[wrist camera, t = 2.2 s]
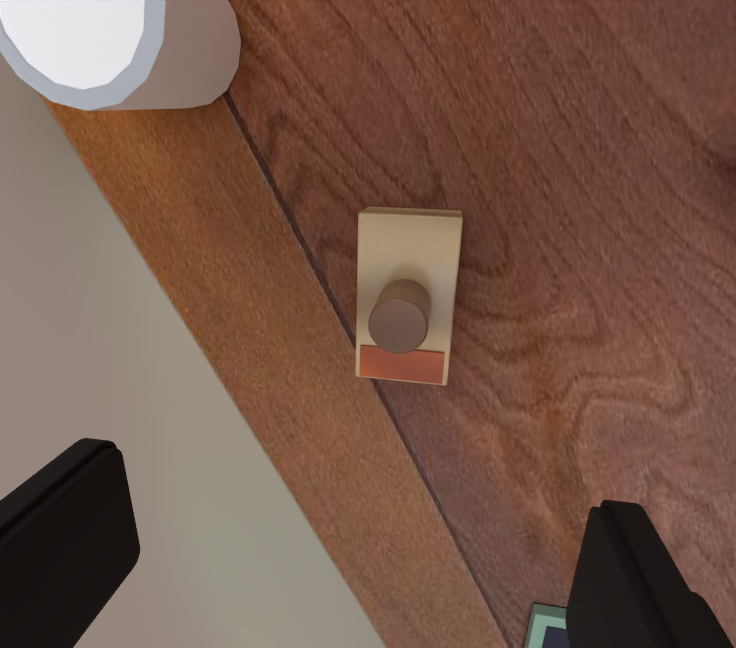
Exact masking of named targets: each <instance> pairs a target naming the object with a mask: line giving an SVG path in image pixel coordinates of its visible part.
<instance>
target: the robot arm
mask: <svg viewBox="0 0 736 648" xmlns="http://www.w3.org/2000/svg"><path fill="white" fill-rule="evenodd" d="M139 554H140V544H139V539H138V533H137V528H136V523H135V518H134V512H133V507H132V503H131V497H130V492H129V486H128V481H127V476H126V471H125V466H124V461H123V455H122V453H121V451H120V450H118V449H117V447H116V445H115V444H114V443H113V442H111V441H107V440H98V439H90V438H84V439H81V440H79V441H77V442H76V443H74V444H73V445H72V446H70V447H69V448H68V449H67V450H65V451H64V452H63V453H61V454H60V455H59V456H58V457H56V458H55V459H54V460H52V461H51V462H50V463H49V464H47V465H46V466H45V467H43V468H42V469H41V470H39V471H38V472H37V473H36V474H34V475H33V476H32V477H30V478H29V479H28V480H27V481H25V482H24V483H23V484H21V485H20V486H19V487H17V488H16V489H15V490H14V491H12V492H11V493H10V494H8V495H7V496H6V497H4V498H3V499H2V500H1V501H0V648H73V647H74V646H75V644H76V643H77V642H78V640H79V639H80V638H81V636H82V635H83V634H84V632H85V631H86V630H87V628H88V627H89V626H90V624H91V623H92V622H93V620H94V619H95V618H96V616H97V615H98V614H99V612H100V611H101V610H102V609H103V607H104V606H105V605H106V603H107V602H108V601H109V599H110V598H111V597H112V595H113V594H114V593H115V591H116V590H117V589H118V587H119V586H120V585H121V583H122V582H123V581H124V579H125V578H126V577H127V575H128V574H129V573H130V572H131V570H132V569H133V567H134V566H135V564H136V563H137V560H138V558H139ZM565 621H566V632H567V637H568V641H569V645H570V648H734V647H733V645H732V644H731V642H730V640H729V639H728V637H727V635H726V634H725V632H724V630H723V629H722V627H721V625H720V624H719V622H718V620H717V618H716V617H715V615H714V613H713V612H712V610H711V608H710V607H709V605H708V604H707V603H706V601H705V600H704V599H703V598H702V597H701V596H700V595H698V594H697V593H696V592H691V591H690V589H689V588H688V586H687V584H686V582H685V581H684V579H683V577H682V575H681V574H680V572H679V570H678V568H677V567H676V565H675V563H674V561H673V560H672V558H671V556H670V554H669V553H668V551H667V549H666V547H665V545H664V544H663V542H662V540H661V538H660V537H659V535H658V533H657V531H656V530H655V528H654V526H653V524H652V523H651V521H650V519H649V517H648V516H647V514H646V512H645V510H644V509H643V508H642V506H641V505H639V504H637V503H629V502H620V501H612V500H603V502H602V503H601V505H600V507H592V508H591V509H590V512H589V516H588V520H587V525H586V529H585V533H584V537H583V542H582V546H581V550H580V554H579V559H578V563H577V567H576V571H575V576H574V580H573V584H572V588H571V593H570V597H569V601H568V605H567V610H566V618H565Z"/></svg>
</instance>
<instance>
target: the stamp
mask: <svg viewBox="0 0 736 648" xmlns="http://www.w3.org/2000/svg"><path fill="white" fill-rule="evenodd" d="M462 226H463V216H462V211H460V210H439V209H417V208H395V207H373V206H369V207H367V208H365V209H364V210H362V211H361V212H359V214H358V257H357V315H356V373H355V375H356V376H357V377H366V378H376V379H386V380H395V381H405V382H415V383H425V384H434V385H444V386H445V385H447V379H448V369H449V359H450V349H451V338H452V328H453V318H454V308H455V297H456V287H457V277H458V267H459V256H460V246H461V236H462Z"/></svg>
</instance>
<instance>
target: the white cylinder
mask: <svg viewBox="0 0 736 648" xmlns="http://www.w3.org/2000/svg"><path fill="white" fill-rule="evenodd" d="M240 47H241V38H240V33H239V28H238V24H237V19H236V14H235V12H234V10H233V8H232V7H231V5H230V3H229V1H228V0H0V52H1V53H2V55H3V56H4V57H5V59H6V60H7V62H8V63H9V65H10V66H11V67H12V69H13V70H14V71H15V73H16V74H17V76H18V77H19V78H21V79H22V80H23V81H25V82H26V83H27V84H29V85H30V86H31V87H33V88H34V89H35V90H37V91H38V92H39V93H41V94H42V95H43V96H45V97H46V98H47V99H49V100H50V101H51V102H55V103H59V104H63V105H67V106H70V107H74V108H78V109H82V110H86V111H97V110H139V109H180V108H193V107H198V106H202V105H207V104H210V103H212V102H213V101H214V100H215V99H217V98H218V97H219V96H220V95H222V94H223V93H224V92H225V91H226V90H227V89H228V87H229V85H230V83H231V81H232V79H233V77H234V75H235V73H236V71H237V69H238V66H239V57H240Z"/></svg>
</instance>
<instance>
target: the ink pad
mask: <svg viewBox="0 0 736 648" xmlns="http://www.w3.org/2000/svg"><path fill="white" fill-rule="evenodd" d="M566 610H567V609H565V608H559V607H553V606H547V605H541V604H535V603H534V604H533V608H532V612H531V617H530V622H529V626H528V631H527V636H526V640H525V645H524V648H570V645H569V641H568V637H567V632H566V621H565V618H566Z"/></svg>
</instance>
